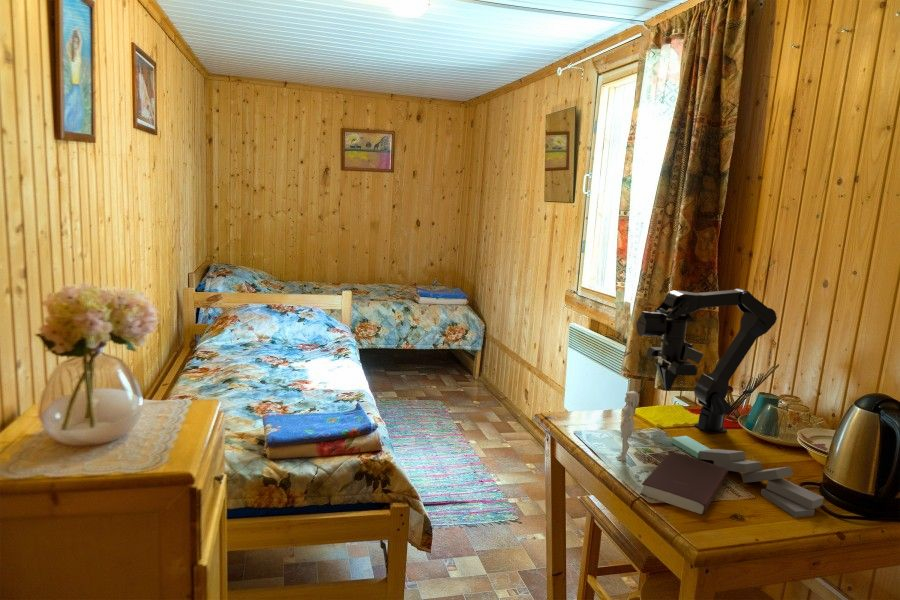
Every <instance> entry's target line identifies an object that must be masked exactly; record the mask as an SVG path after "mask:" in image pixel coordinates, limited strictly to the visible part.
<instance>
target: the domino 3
mask: <svg viewBox="0 0 900 600" xmlns="http://www.w3.org/2000/svg"><path fill="white" fill-rule="evenodd" d="M740 476H741V479H742V482H743V484H744V483H745V484H746V483H755V482H756V483H757V482H763V481H768V480H774V479H780V478H783V479H785V478H787V477H792V476H794V473H793V470H792V467H791V466H783V467H776V468H767V469H762V471H756V472H749V473H741V474H740Z"/></svg>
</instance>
